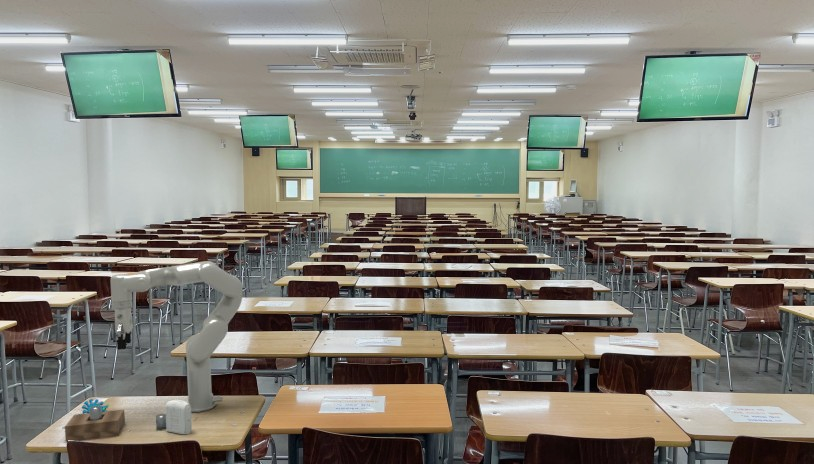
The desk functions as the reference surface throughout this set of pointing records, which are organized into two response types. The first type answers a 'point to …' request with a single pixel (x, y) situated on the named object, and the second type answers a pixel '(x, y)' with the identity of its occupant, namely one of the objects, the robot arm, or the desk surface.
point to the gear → (103, 408)
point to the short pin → (161, 422)
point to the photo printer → (178, 417)
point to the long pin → (95, 413)
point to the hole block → (95, 426)
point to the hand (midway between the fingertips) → (124, 346)
